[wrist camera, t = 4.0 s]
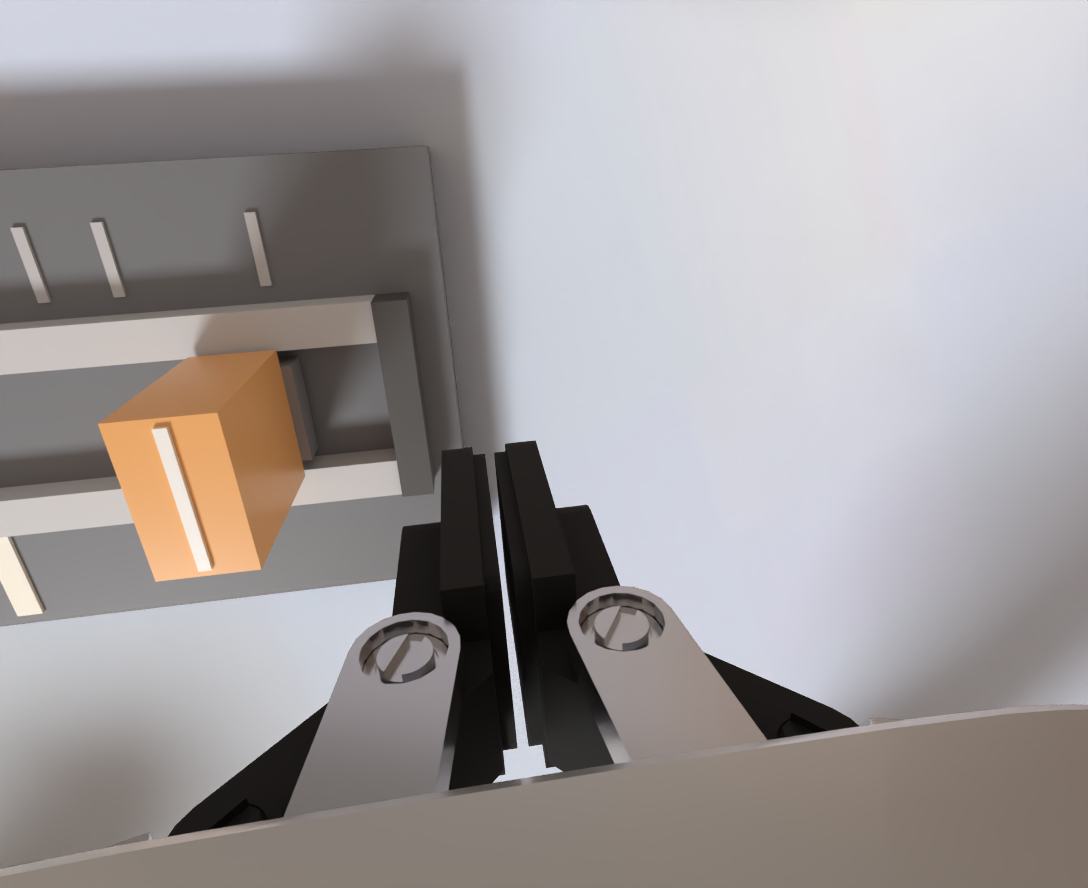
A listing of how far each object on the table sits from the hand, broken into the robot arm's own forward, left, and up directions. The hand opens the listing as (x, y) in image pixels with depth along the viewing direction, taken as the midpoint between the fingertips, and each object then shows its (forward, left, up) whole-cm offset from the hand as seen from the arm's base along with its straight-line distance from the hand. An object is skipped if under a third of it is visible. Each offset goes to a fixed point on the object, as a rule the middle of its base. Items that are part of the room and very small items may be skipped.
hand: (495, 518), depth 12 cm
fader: (+7, +1, -9) cm, 12 cm away
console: (+12, +1, -12) cm, 17 cm away
